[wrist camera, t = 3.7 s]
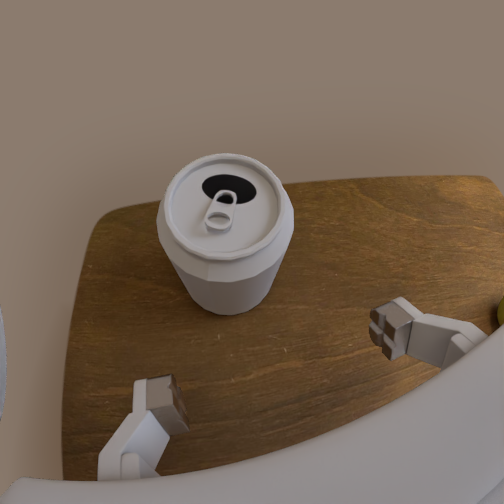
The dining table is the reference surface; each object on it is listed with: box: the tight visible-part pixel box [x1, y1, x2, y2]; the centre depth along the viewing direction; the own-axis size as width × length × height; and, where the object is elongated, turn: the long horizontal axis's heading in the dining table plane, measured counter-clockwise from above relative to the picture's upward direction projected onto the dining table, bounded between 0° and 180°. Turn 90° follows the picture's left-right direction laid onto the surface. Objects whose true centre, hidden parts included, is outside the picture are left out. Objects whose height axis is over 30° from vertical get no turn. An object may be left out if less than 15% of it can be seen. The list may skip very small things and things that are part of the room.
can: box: [156, 153, 294, 315], centre depth 20 cm, size 8×8×12 cm
